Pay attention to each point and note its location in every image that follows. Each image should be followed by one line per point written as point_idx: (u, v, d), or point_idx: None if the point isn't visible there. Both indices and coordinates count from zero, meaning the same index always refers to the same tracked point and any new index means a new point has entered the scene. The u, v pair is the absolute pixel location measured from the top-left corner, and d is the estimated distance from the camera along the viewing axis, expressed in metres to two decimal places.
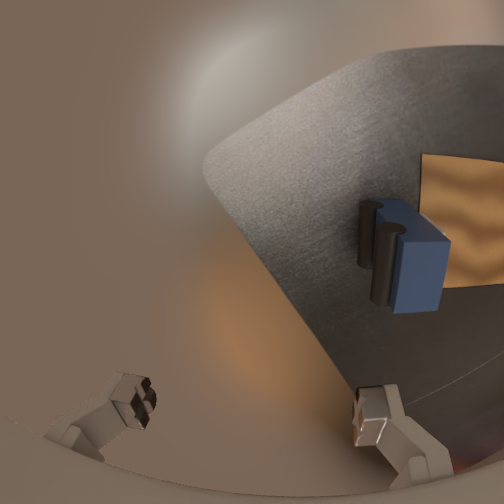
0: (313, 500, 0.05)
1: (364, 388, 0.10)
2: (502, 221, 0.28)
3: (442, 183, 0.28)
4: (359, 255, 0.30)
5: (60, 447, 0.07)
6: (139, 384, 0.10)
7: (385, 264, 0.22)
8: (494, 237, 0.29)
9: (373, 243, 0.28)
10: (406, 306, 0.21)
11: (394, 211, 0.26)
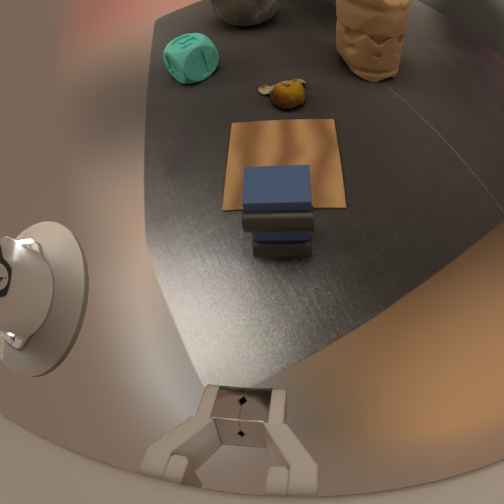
0: (313, 500, 0.05)
1: (251, 389, 0.10)
2: (277, 135, 0.44)
3: None
4: (301, 254, 0.34)
5: (60, 447, 0.07)
6: (242, 396, 0.10)
7: (271, 218, 0.27)
8: (291, 139, 0.43)
9: (286, 241, 0.34)
10: (303, 191, 0.26)
11: None
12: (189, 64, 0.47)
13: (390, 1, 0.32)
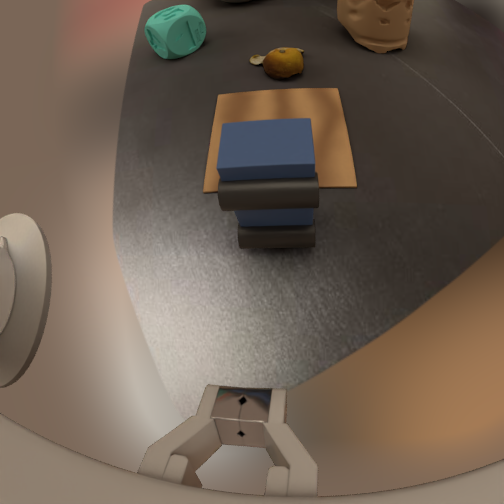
0: (313, 500, 0.05)
1: (251, 389, 0.10)
2: (271, 105, 0.36)
3: None
4: (301, 243, 0.25)
5: (60, 447, 0.07)
6: (242, 396, 0.10)
7: (258, 189, 0.19)
8: (288, 109, 0.35)
9: (281, 226, 0.25)
10: (303, 150, 0.18)
11: None
12: (172, 36, 0.39)
13: None
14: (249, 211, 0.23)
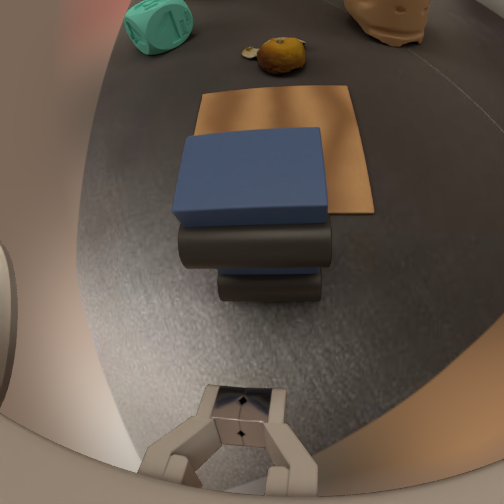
0: (313, 500, 0.05)
1: (251, 389, 0.10)
2: (266, 106, 0.29)
3: None
4: (302, 297, 0.19)
5: (60, 447, 0.07)
6: (242, 396, 0.10)
7: (238, 243, 0.13)
8: (287, 111, 0.28)
9: (276, 276, 0.19)
10: (309, 182, 0.11)
11: None
12: (153, 28, 0.32)
13: None
14: None
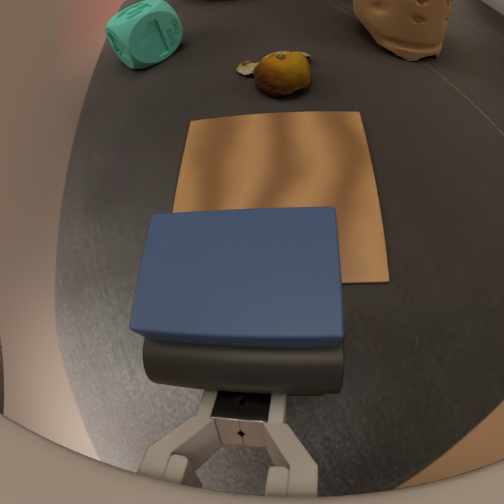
0: (313, 500, 0.05)
1: None
2: (264, 139, 0.25)
3: None
4: (302, 394, 0.15)
5: (60, 447, 0.07)
6: (242, 396, 0.10)
7: (218, 369, 0.09)
8: (289, 146, 0.25)
9: None
10: (318, 299, 0.08)
11: None
12: (137, 39, 0.29)
13: None
14: None
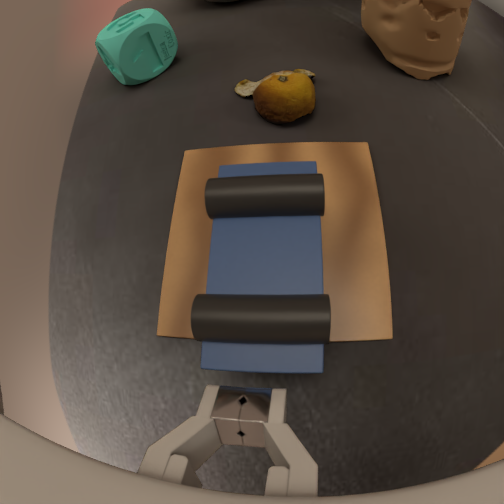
0: (313, 500, 0.05)
1: (251, 389, 0.10)
2: None
3: None
4: (304, 306, 0.13)
5: (60, 447, 0.07)
6: (242, 397, 0.10)
7: None
8: None
9: None
10: None
11: None
12: (128, 54, 0.27)
13: None
14: (230, 248, 0.17)
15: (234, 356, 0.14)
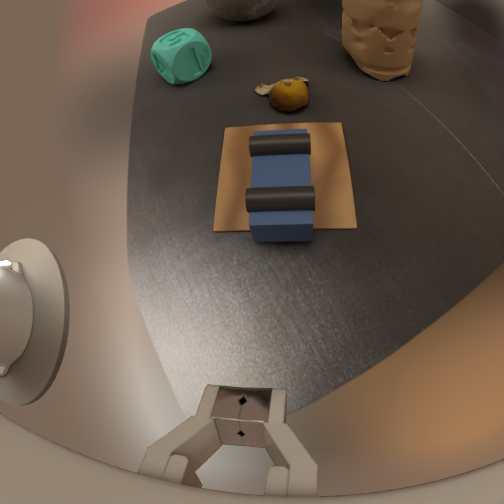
0: (313, 500, 0.05)
1: (251, 389, 0.10)
2: None
3: (240, 209, 0.35)
4: (301, 188, 0.28)
5: (60, 447, 0.07)
6: (242, 396, 0.10)
7: None
8: None
9: None
10: None
11: None
12: (178, 62, 0.42)
13: None
14: (262, 169, 0.31)
15: (267, 217, 0.29)
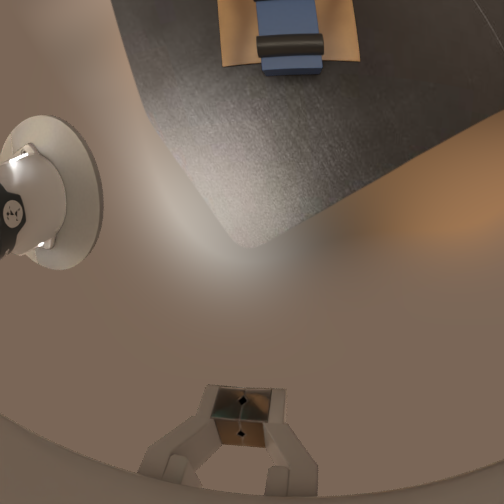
0: (313, 500, 0.05)
1: (251, 389, 0.10)
2: None
3: (246, 43, 0.30)
4: (311, 37, 0.23)
5: (60, 447, 0.07)
6: (242, 397, 0.10)
7: None
8: None
9: None
10: None
11: None
12: None
13: None
14: (268, 14, 0.24)
15: (278, 62, 0.26)
